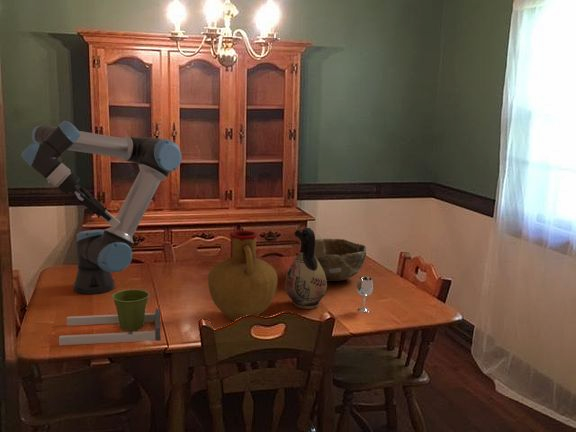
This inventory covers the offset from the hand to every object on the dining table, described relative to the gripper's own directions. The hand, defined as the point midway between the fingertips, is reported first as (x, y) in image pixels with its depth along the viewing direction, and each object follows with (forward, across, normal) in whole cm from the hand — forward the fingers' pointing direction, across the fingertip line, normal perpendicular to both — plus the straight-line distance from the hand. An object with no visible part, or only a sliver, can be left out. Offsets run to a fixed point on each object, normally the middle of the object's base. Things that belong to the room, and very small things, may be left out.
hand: (117, 225), depth 218 cm
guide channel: (+20, +24, -22) cm, 38 cm away
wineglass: (+83, +17, +38) cm, 93 cm away
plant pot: (+24, +22, -18) cm, 37 cm away
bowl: (+83, -20, +38) cm, 93 cm away
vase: (+51, +18, +7) cm, 54 cm away
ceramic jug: (+69, +9, +24) cm, 74 cm away
